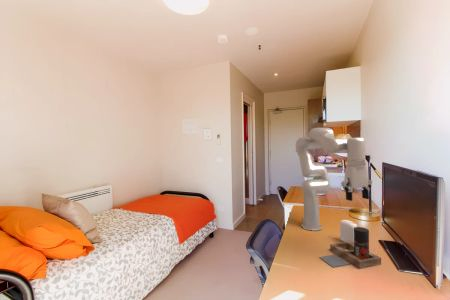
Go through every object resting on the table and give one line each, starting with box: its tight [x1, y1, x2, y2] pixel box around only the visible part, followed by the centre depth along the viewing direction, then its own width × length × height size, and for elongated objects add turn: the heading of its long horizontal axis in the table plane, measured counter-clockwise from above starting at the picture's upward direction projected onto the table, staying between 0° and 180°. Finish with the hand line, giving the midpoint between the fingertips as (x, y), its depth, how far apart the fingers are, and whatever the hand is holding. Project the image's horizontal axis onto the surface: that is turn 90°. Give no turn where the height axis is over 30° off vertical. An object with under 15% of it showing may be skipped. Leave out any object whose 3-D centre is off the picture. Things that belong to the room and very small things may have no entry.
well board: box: [329, 241, 382, 269], centre depth 107 cm, size 18×12×3 cm, turn 15°
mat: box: [319, 253, 351, 269], centre depth 104 cm, size 9×9×1 cm
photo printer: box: [339, 219, 359, 243], centre depth 122 cm, size 10×4×12 cm, turn 14°
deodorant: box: [354, 226, 370, 260], centre depth 103 cm, size 6×6×15 cm
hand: (357, 199), depth 105 cm, fingers open, 9 cm apart
